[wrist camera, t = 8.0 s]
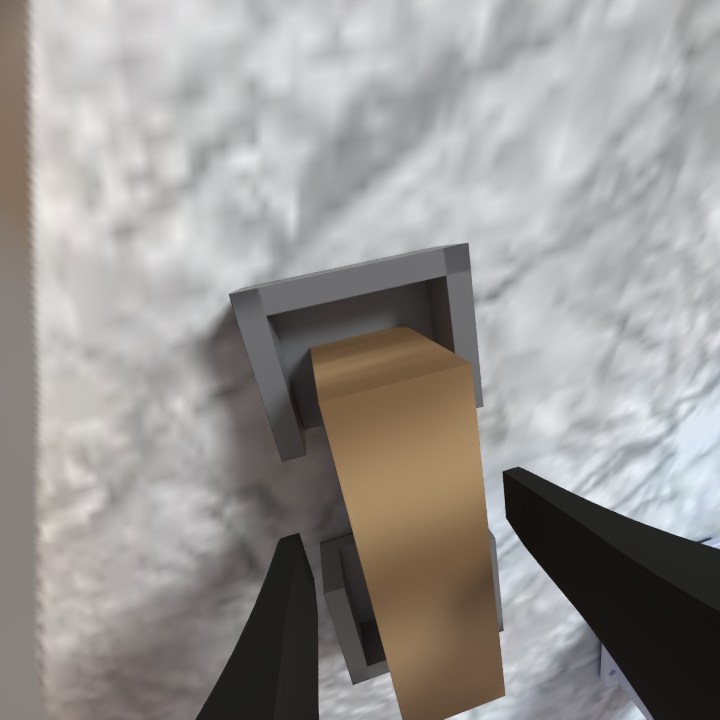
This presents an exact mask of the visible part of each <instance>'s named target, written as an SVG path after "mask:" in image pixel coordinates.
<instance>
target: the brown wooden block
mask: <svg viewBox="0 0 720 720" xmlns="http://www.w3.org/2000/svg"><path fill="white" fill-rule="evenodd" d="M310 350H311V357H312V363H313V369H314V376H315V382H316V389H317V395H318V401H319V406H320V410H321V413H322V417H323V421H324V425H325V429H326V432H327V436H328V440H329V444H330V447H331V451H332V455H333V459H334V463H335V466H336V470H337V474H338V478H339V481H340V485H341V489H342V493H343V497H344V500H345V504H346V508H347V512H348V515H349V519H350V523H351V527H352V531H353V534H354V538H355V542H356V546H357V550H358V553H359V557H360V561H361V565H362V568H363V572H364V576H365V580H366V584H367V587H368V591H369V595H370V599H371V602H372V606H373V610H374V614H375V618H376V621H377V625H378V629H379V633H380V636H381V640H382V644H383V648H384V652H385V655H386V659H387V663H388V667H389V670H390V674H391V678H392V682H393V686H394V689H395V693H396V697H397V701H398V704H399V708H400V712H401V716H402V720H444V719H446V718H449V717H452V716H454V715H457V714H459V713H462V712H464V711H467V710H470V709H472V708H475V707H477V706H480V705H482V704H485V703H488V702H490V701H493V700H495V699H498V698H500V697H503V696H505V687H504V677H503V667H502V657H501V648H500V638H499V628H498V618H497V609H496V599H495V589H494V579H493V569H492V560H491V550H490V540H489V530H488V520H487V511H486V501H485V491H484V481H483V472H482V462H481V452H480V442H479V432H478V423H477V413H476V403H475V393H474V384H473V374H472V364H471V363H470V362H469V361H467V360H465V359H463V358H462V357H460V356H458V355H456V354H454V353H453V352H451V351H449V350H447V349H446V348H444V347H442V346H440V345H439V344H437V343H435V342H433V341H432V340H430V339H428V338H426V337H425V336H423V335H421V334H419V333H418V332H416V331H414V330H412V329H411V328H409V327H407V326H405V325H400V326H396V327H392V328H387V329H383V330H379V331H375V332H371V333H367V334H363V335H359V336H354V337H350V338H346V339H342V340H338V341H334V342H330V343H325V344H321V345H317V346H313V347H310Z"/></svg>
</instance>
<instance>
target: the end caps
mask: <svg viewBox="0 0 720 720" xmlns="http://www.w3.org/2000/svg"><path fill="white" fill-rule="evenodd" d="M229 297H230V300H231V303H232V306H233V309H234V312H235V316H236V319H237V322H238V325H239V328H240V331H241V334H242V338H243V341H244V344H245V347H246V350H247V353H248V356H249V360H250V363H251V366H252V369H253V372H254V375H255V378H256V382H257V385H258V388H259V391H260V394H261V397H262V401H263V404H264V407H265V410H266V413H267V416H268V419H269V423H270V426H271V429H272V432H273V435H274V438H275V441H276V445H277V448H278V451H279V454H280V457H281V460H282V462H283V461H287V460H291V459H294V458H298V457H301V456H305V455H306V441H305V429H308V428H312V427H316V426H319V425H323V424H324V421H323V417H322V413H321V410H320V406H319V401H318V395H317V389H316V382H315V376H314V369H313V363H312V357H311V350H310V347H313V346H317V345H321V344H325V343H330V342H334V341H338V340H342V339H346V338H350V337H354V336H359V335H363V334H367V333H371V332H375V331H379V330H383V329H387V328H392V327H396V326H400V325H405V326H407V327H409V328H411V329H412V330H414V331H416V332H418V333H419V334H421V335H423V336H425V337H426V338H428V339H430V340H432V341H433V342H435V343H437V344H439V345H440V346H442V347H444V348H446V349H447V350H449V351H451V352H453V353H454V354H456V355H458V356H460V357H462V358H463V359H465V360H467V361H469V362H470V363H471V364H472V374H473V384H474V393H475V403H476V408H479V407H483V399H482V388H481V377H480V366H479V355H478V344H477V333H476V322H475V311H474V300H473V289H472V278H471V267H470V256H469V245H468V243H463V244H455V245H446V246H438V247H433V248H428V249H423V250H419V251H414V252H409V253H405V254H400V255H395V256H390V257H386V258H381V259H376V260H372V261H367V262H362V263H358V264H353V265H348V266H344V267H339V268H334V269H330V270H325V271H320V272H315V273H311V274H306V275H301V276H297V277H292V278H287V279H283V280H278V281H273V282H269V283H264V284H259V285H254V286H250V287H245V288H241V289H239V290H237V291H235V292H232V293H230V294H229ZM488 530H489V529H488ZM489 540H490V550H491V560H492V569H493V579H494V589H495V599H496V609H497V618H498V628H499V632H501V631H504V629H503V618H502V608H501V597H500V586H499V575H498V564H497V553H496V542H495V537H494V536H493V534H492V533H491V532H490V530H489ZM320 551H321V564H322V576H323V588H324V596H325V599H326V602H327V605H328V608H329V611H330V614H331V618H332V621H333V624H334V627H335V630H336V633H337V636H338V640H339V643H340V646H341V649H342V652H343V655H344V658H345V662H346V665H347V668H348V671H349V674H350V677H351V680H352V684H353V685H355V684H357V683H360V682H363V681H366V680H369V679H371V678H374V677H377V676H380V675H382V674H385V673H388V672H390V670H389V667H388V663H387V659H386V655H385V652H384V648H383V644H382V640H381V636H380V633H379V629H378V625H377V621H376V618H375V614H374V610H373V606H372V602H371V599H370V595H369V591H368V587H367V584H366V580H365V576H364V572H363V568H362V565H361V561H360V557H359V553H358V550H357V546H356V542H355V538H354V534H350V535H347V536H343V537H340V538H337V539H334V540H330V541H327V542H324V543H321V544H320Z"/></svg>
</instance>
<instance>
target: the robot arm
mask: <svg viewBox="0 0 720 720" xmlns="http://www.w3.org/2000/svg"><path fill="white" fill-rule="evenodd" d="M503 483H504V496H505V510H506V518H507V520H508V522H509V523H510V525H511V526H512V528H513V529H514V531H515V533H516V534H517V536H518V537H519V539H520V540H521V542H522V543H523V545H524V546H525V547H526V549H527V550H528V551H529V552H530V554H531V555H532V556H533V557H534V558H535V560H536V561H537V562H538V563H539V565H540V566H541V567H542V568H543V569H544V571H545V572H546V573H547V574H548V575H549V577H550V578H551V579H552V580H553V581H554V583H555V584H556V585H557V586H558V588H559V589H560V590H561V591H562V592H563V594H564V595H565V596H566V597H567V598H568V600H569V601H570V602H571V603H572V604H573V606H574V607H575V608H576V609H577V610H578V612H579V613H580V614H581V616H582V617H583V618H584V619H585V621H586V622H587V623H588V625H589V626H590V627H591V629H592V630H593V631H594V633H595V634H596V636H597V637H598V638H599V640H600V641H601V643H602V652H601V675H600V680H601V682H602V683H603V684H604V686H605V687H607V688H611V687H614V686H616V685H619V684H620V685H621V686H622V688H623V689H624V690H625V692H626V693H627V694H628V696H629V697H630V698H631V699H632V701H633V702H634V703H635V705H636V706H637V707H638V709H639V710H640V711H641V713H642V714H643V715H644V716H645V718H646V719H647V720H720V537H717V538H714V539H711V540H708V541H705V542H702V543H698V542H695V541H692V540H689V539H686V538H682V537H679V536H676V535H673V534H671V533H668V532H665V531H662V530H660V529H657V528H654V527H651V526H649V525H646V524H643V523H640V522H638V521H635V520H633V519H630V518H628V517H625V516H623V515H621V514H618V513H616V512H614V511H611V510H609V509H606V508H604V507H602V506H600V505H597V504H595V503H593V502H591V501H589V500H586V499H584V498H582V497H580V496H578V495H576V494H574V493H572V492H569V491H567V490H565V489H563V488H561V487H559V486H557V485H555V484H553V483H551V482H549V481H547V480H545V479H543V478H541V477H539V476H537V475H535V474H533V473H531V472H529V471H527V470H525V469H523V468H521V467H516V468H512V469H509V470H506V471H503ZM196 720H319V707H318V612H317V601H316V592H315V583H314V577H313V574H312V571H311V568H310V565H309V562H308V559H307V556H306V553H305V550H304V546H303V543H302V540H301V537H300V534H299V533H297V534H294V535H291V536H287V537H284V538H281V539H280V540H279V542H278V544H277V547H276V550H275V553H274V556H273V559H272V562H271V565H270V567H269V570H268V573H267V575H266V578H265V581H264V583H263V586H262V588H261V591H260V593H259V595H258V598H257V600H256V603H255V605H254V608H253V610H252V612H251V614H250V617H249V619H248V621H247V623H246V625H245V627H244V630H243V632H242V634H241V636H240V638H239V640H238V642H237V645H236V647H235V649H234V651H233V653H232V655H231V657H230V659H229V660H228V662H227V664H226V666H225V668H224V670H223V672H222V674H221V676H220V677H219V679H218V681H217V683H216V685H215V687H214V688H213V690H212V692H211V694H210V695H209V697H208V699H207V701H206V702H205V704H204V706H203V708H202V709H201V711H200V713H199V714H198V716H197V718H196Z"/></svg>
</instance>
